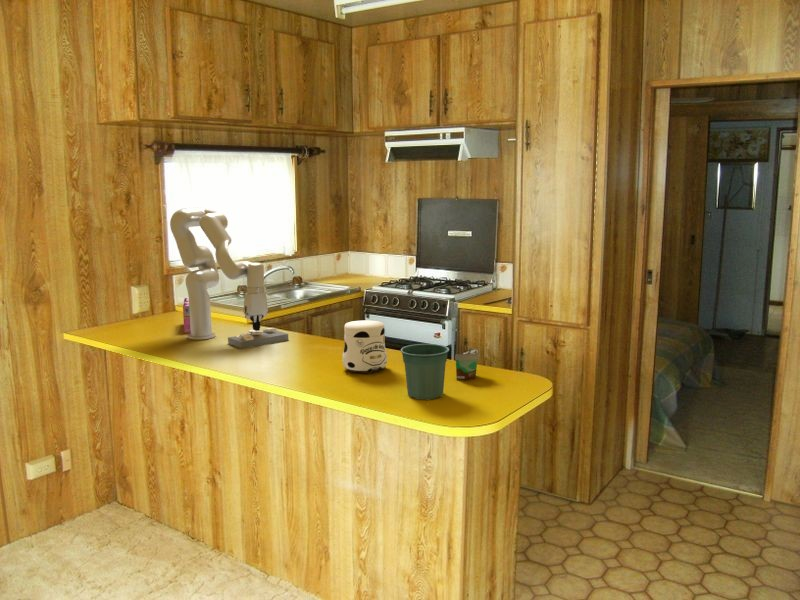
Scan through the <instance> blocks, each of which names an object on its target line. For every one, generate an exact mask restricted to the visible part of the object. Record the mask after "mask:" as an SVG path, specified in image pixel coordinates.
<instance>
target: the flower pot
mask: <svg viewBox="0 0 800 600" xmlns="http://www.w3.org/2000/svg"><path fill="white" fill-rule="evenodd" d="M400 352H401V354H402V362H403V363H404V370H405V371H404V372H405V378H406V380H405V381H406V390H407V396H408V397H410V398H412V399H413V398H414V399H416V400H423V401H424V400H425V401H428V400H435V399H437V398H441V397H442V396H443V395H444V387H445V385H444V384H445V375H446V373H445V372H446V364H447V361H448V353H449V352H450V348H449V347H447V346H445V345H442V344H433V343H421V344H420V343H417V344H409V345H406V346H402V348H401V349H400Z"/></svg>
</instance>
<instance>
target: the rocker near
mask: <svg viewBox="0 0 800 600" xmlns="http://www.w3.org/2000/svg"><path fill="white" fill-rule="evenodd" d="M249 334H250V333H248V332H245V333H239V336H240V337H241V338H242V339H244V340H246V341H248V340H253V339H254V337H252V336H251V335H249Z"/></svg>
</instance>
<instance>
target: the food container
mask: <svg viewBox="0 0 800 600" xmlns="http://www.w3.org/2000/svg"><path fill="white" fill-rule="evenodd" d="M479 358H480V354H479V351H478V349H477V348H472V347H469V349H468V350H467V351H463V352H462V353H459V354H457V353H455V356H454V361H455V369H456V370H455V372H456V375H455V376H456V381H461V382H462V381H466V382H467V381H472V380H475V379H476V378H477V369H478V368H477V367H478V359H479Z"/></svg>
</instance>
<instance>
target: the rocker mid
mask: <svg viewBox="0 0 800 600" xmlns="http://www.w3.org/2000/svg"><path fill="white" fill-rule="evenodd" d="M262 332H263V331H261V330H259V331H255V330H253V329H250V330H247V333H248V334H253V335H258V334H262Z"/></svg>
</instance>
